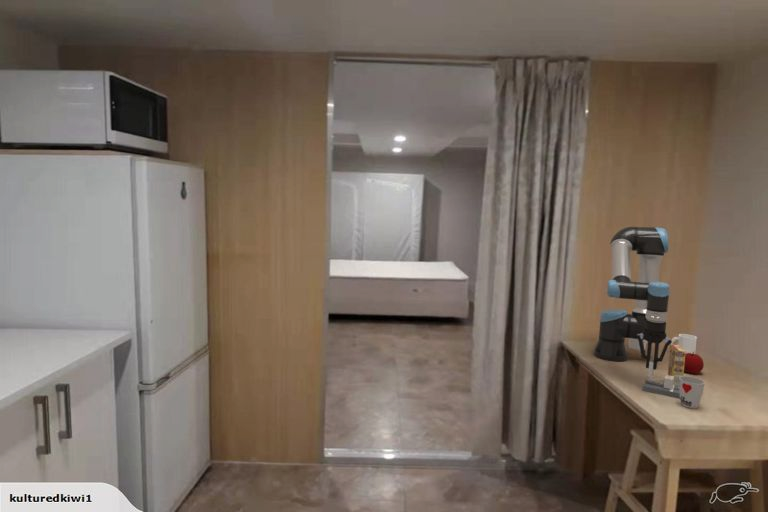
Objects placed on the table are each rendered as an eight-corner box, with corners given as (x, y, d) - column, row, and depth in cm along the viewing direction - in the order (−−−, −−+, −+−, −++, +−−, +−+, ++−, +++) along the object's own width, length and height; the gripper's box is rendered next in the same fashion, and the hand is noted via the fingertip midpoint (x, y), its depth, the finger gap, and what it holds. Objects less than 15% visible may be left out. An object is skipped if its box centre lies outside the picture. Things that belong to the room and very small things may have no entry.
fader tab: (663, 387, 196) (664, 377, 195) (664, 384, 200) (665, 374, 199) (672, 389, 194) (673, 379, 194) (673, 385, 198) (674, 376, 198)
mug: (691, 353, 252) (693, 334, 251) (698, 358, 244) (700, 339, 242) (666, 350, 255) (667, 332, 253) (671, 355, 246) (673, 336, 245)
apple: (704, 372, 223) (706, 351, 222) (700, 377, 216) (702, 355, 215) (681, 367, 229) (683, 346, 228) (676, 371, 222) (678, 350, 221)
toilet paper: (643, 352, 251) (644, 339, 251) (624, 346, 262) (625, 333, 261) (654, 350, 255) (655, 337, 254) (635, 344, 265) (636, 332, 264)
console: (642, 390, 198) (643, 380, 198) (645, 384, 206) (646, 373, 205) (694, 401, 188) (695, 390, 188) (695, 394, 196) (696, 383, 195)
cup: (671, 401, 188) (674, 376, 187) (691, 401, 189) (694, 376, 188) (686, 410, 180) (689, 384, 179) (707, 409, 181) (709, 383, 180)
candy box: (683, 386, 204) (686, 351, 202) (671, 385, 205) (675, 349, 204) (677, 379, 212) (680, 345, 211) (666, 378, 214) (669, 344, 212)
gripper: (636, 319, 198) (631, 375, 201) (673, 325, 191) (667, 382, 194) (639, 316, 205) (634, 370, 208) (675, 321, 197) (669, 377, 200)
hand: (650, 376), depth 201 cm, fingers closed
